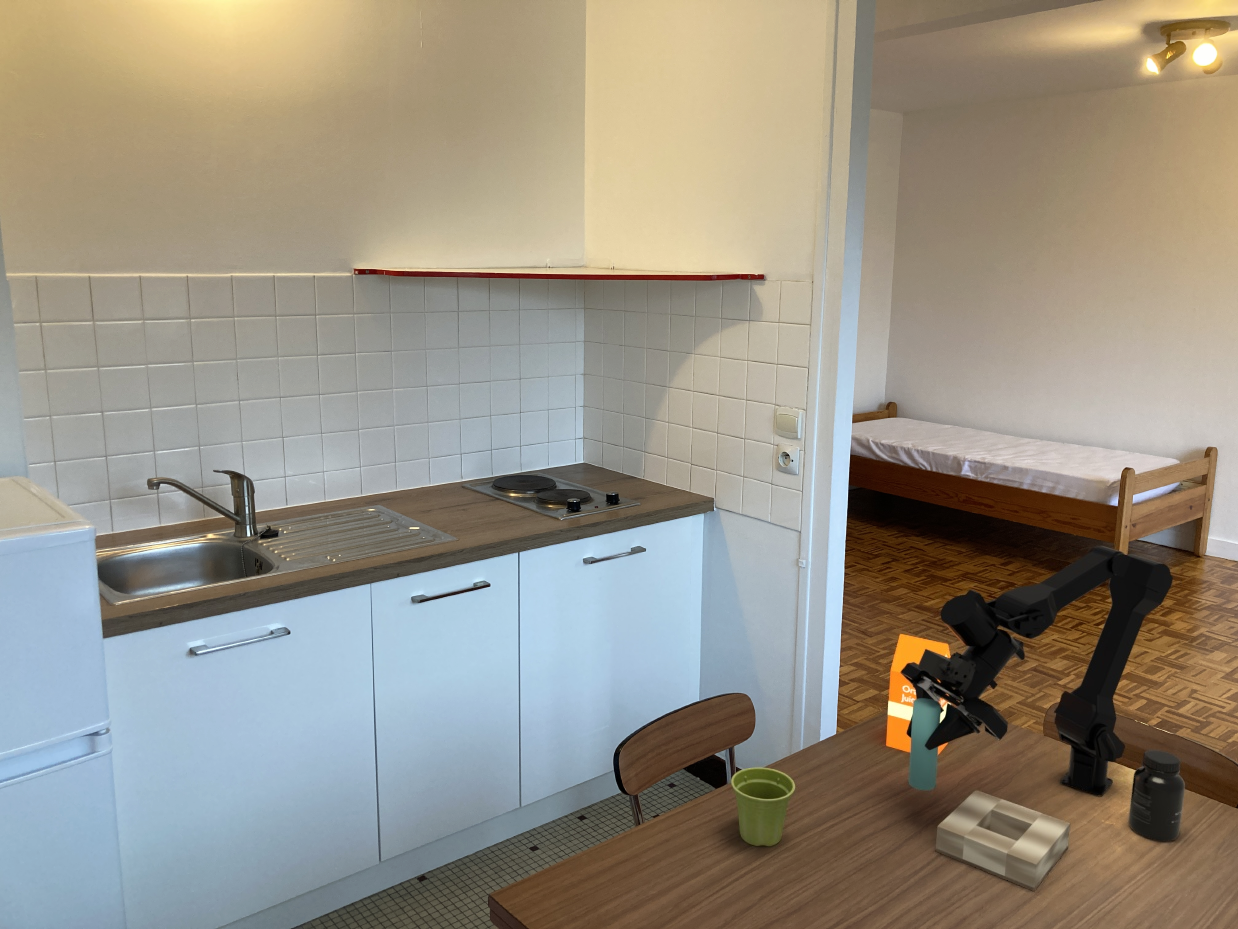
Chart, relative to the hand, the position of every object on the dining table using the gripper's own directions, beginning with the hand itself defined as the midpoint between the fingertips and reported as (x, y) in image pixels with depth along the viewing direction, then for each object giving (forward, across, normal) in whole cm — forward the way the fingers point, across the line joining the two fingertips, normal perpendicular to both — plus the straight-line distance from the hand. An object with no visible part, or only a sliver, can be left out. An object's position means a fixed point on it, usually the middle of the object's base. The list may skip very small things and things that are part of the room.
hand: (917, 742), depth 146 cm
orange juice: (-3, -21, +22) cm, 31 cm away
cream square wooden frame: (+4, +10, +15) cm, 19 cm away
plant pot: (+26, -5, -7) cm, 28 cm away
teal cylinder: (+4, 0, +6) cm, 7 cm away
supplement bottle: (-14, +14, +33) cm, 39 cm away
